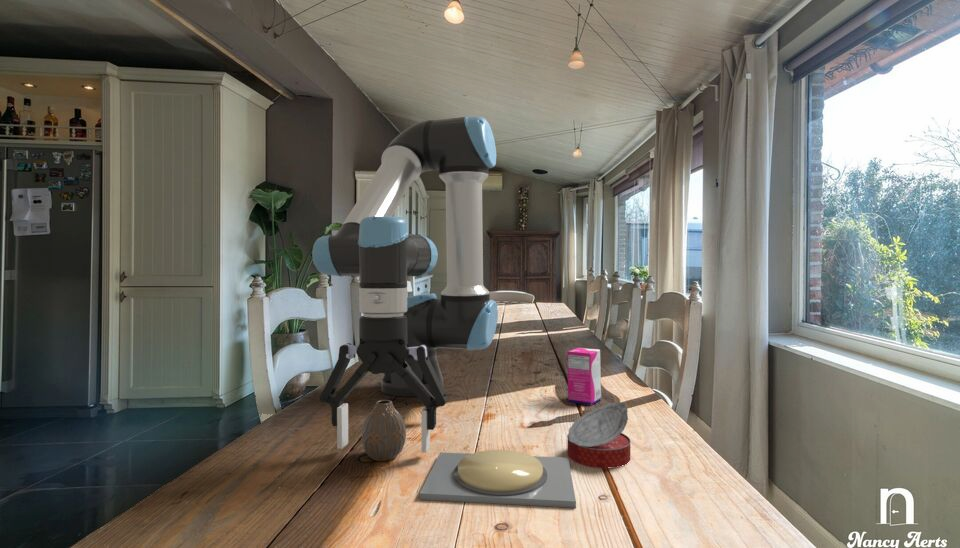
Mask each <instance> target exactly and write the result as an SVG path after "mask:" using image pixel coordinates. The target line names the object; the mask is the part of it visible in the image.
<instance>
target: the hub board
mask: <svg viewBox="0 0 960 548" xmlns="http://www.w3.org/2000/svg"><path fill="white" fill-rule="evenodd" d="M569 459H570V458H569V457H559V456H558V457H556V456H537V455H536V456H535V455H534V456H533V455H531V454H528V453H525V452H521V451H517V450H510V449H488V450H487V449H486V450H480V451H477V452H476V451H475V452H473V453H465V452H464V453H463V452H461V453H460V452H445V451H443V452H441V451H440V452H439V454H438V456H437V458H436V459H435V462H434V464H433V466H432V468H431V470H430V472H429V473H428V476H427V478H426V480H425V481H424V484H423V486H422V488H421V490H420V492H419V500H422V501H423V500H425V501H444V502H445V501H446V502H464V503H479V504H480V503H481V504H482V503H483V504H498V505H500V504H502V505H518V506H520V505H521V506H537V507H538V506H539V507H555V508H561V507H562V508H571V509H572V508H574V509H575V508H577V500H576V495H575V489H574V483H573V477H572V470H571V466H570V460H569Z"/></svg>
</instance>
